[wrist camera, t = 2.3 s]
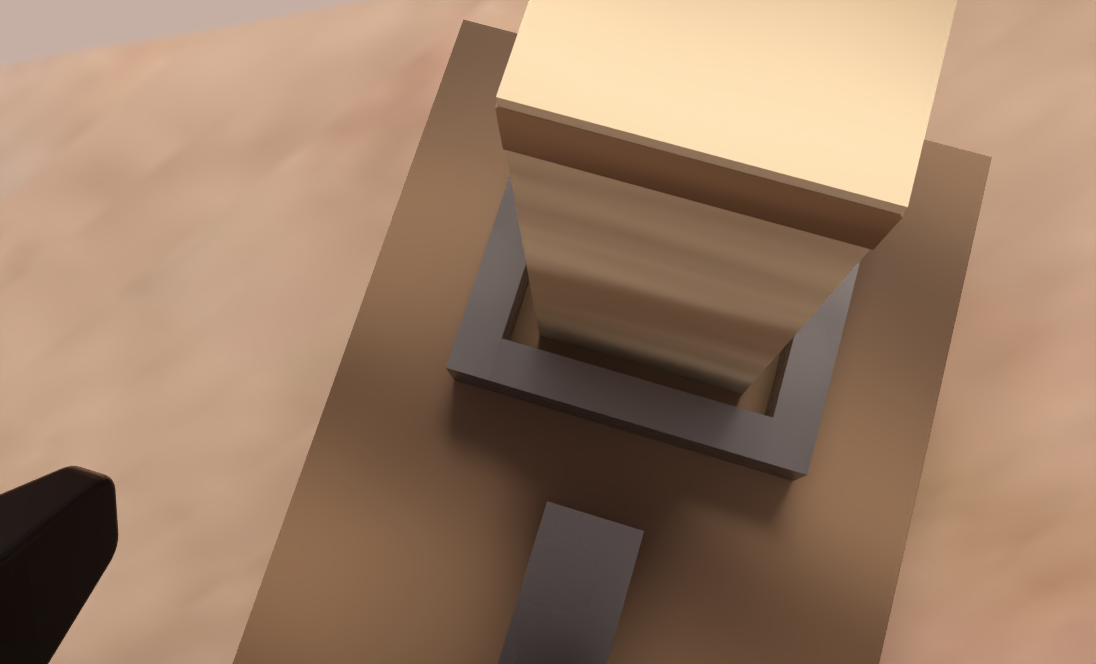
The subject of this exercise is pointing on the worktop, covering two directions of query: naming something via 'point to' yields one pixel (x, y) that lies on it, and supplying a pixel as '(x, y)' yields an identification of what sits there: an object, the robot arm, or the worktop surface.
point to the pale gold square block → (710, 166)
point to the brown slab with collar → (603, 448)
